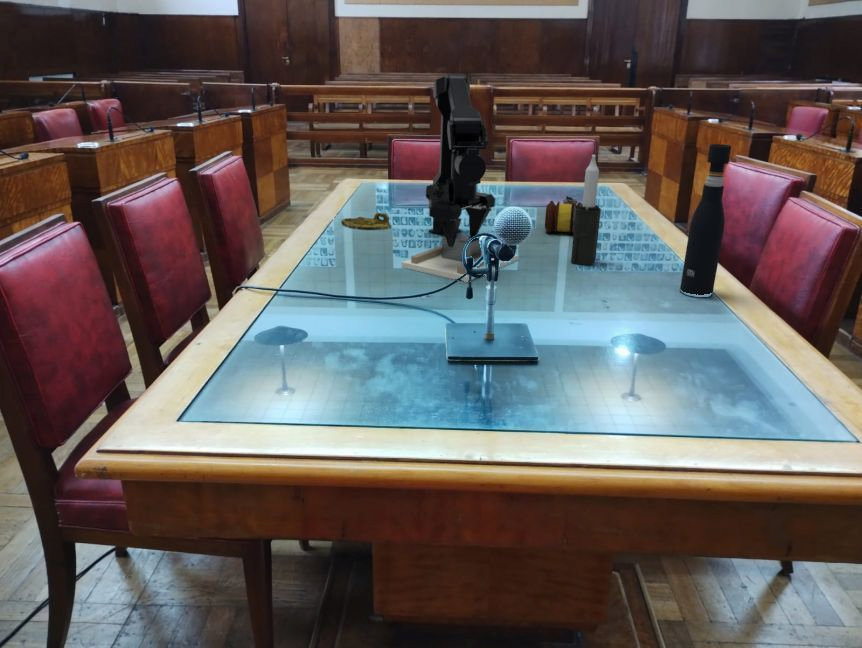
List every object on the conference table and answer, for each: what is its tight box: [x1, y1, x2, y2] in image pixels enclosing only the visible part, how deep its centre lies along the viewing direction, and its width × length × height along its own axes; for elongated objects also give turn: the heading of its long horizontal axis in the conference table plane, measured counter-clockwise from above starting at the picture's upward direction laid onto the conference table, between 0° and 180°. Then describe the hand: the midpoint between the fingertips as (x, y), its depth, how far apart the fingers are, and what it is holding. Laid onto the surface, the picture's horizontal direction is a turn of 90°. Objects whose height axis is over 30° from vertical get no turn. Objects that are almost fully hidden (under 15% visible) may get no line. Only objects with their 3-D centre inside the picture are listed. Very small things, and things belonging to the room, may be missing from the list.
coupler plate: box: [401, 244, 519, 283], centre depth 160 cm, size 22×18×3 cm
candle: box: [570, 154, 602, 267], centre depth 159 cm, size 5×5×25 cm
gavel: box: [544, 195, 583, 235], centre depth 198 cm, size 10×34×10 cm
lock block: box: [441, 233, 482, 262], centre depth 160 cm, size 4×8×5 cm, turn 54°
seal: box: [341, 212, 392, 231], centre depth 193 cm, size 9×5×15 cm
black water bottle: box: [679, 143, 732, 295], centre depth 138 cm, size 6×6×30 cm
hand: (461, 242), depth 159 cm, fingers open, 9 cm apart
